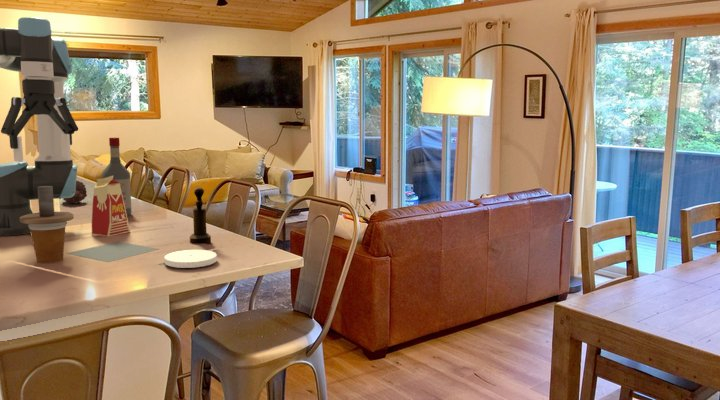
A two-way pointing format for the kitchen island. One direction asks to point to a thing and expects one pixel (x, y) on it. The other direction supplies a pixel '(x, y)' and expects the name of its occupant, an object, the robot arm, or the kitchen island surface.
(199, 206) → the black pedestal statuette
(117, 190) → the milk carton
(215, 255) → the plastic lid
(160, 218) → the kitchen island surface
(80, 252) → the slate mat
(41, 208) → the wooden lid with knob
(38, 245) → the disposable coffee cup
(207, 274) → the kitchen island surface
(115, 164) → the liquor
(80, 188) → the pine cone
